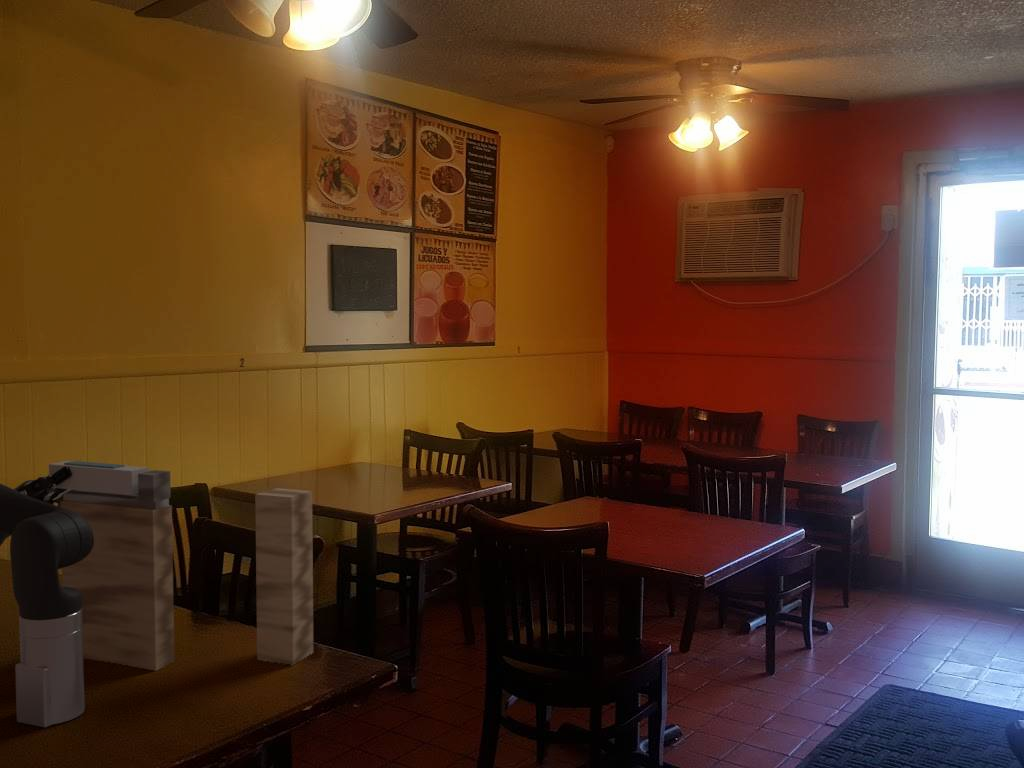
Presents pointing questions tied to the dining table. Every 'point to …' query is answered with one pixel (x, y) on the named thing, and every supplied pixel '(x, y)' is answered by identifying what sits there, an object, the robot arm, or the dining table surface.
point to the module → (100, 477)
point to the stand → (284, 575)
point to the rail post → (127, 574)
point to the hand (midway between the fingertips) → (79, 468)
